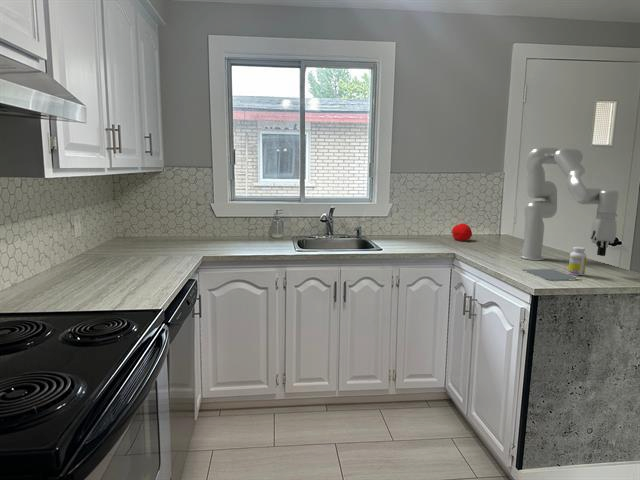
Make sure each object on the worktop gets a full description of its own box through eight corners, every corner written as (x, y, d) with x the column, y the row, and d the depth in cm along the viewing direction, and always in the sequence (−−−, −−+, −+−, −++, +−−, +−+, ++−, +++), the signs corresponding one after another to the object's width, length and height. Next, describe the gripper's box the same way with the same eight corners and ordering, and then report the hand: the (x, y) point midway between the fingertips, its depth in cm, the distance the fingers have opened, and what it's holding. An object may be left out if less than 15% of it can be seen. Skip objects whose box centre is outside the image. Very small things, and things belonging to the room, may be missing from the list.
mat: (522, 270, 213) (522, 269, 213) (552, 269, 216) (552, 268, 216) (549, 280, 194) (549, 279, 194) (581, 280, 196) (581, 279, 196)
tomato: (470, 246, 295) (456, 243, 307) (479, 230, 296) (465, 228, 308) (457, 236, 290) (444, 234, 302) (467, 220, 291) (453, 218, 303)
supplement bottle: (578, 273, 210) (581, 246, 208) (587, 276, 203) (590, 249, 201) (564, 272, 210) (567, 246, 208) (573, 276, 203) (576, 248, 201)
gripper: (613, 215, 209) (608, 253, 212) (585, 215, 206) (580, 253, 209) (626, 217, 201) (621, 256, 204) (597, 217, 199) (592, 257, 202)
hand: (601, 255), depth 207 cm, fingers closed
